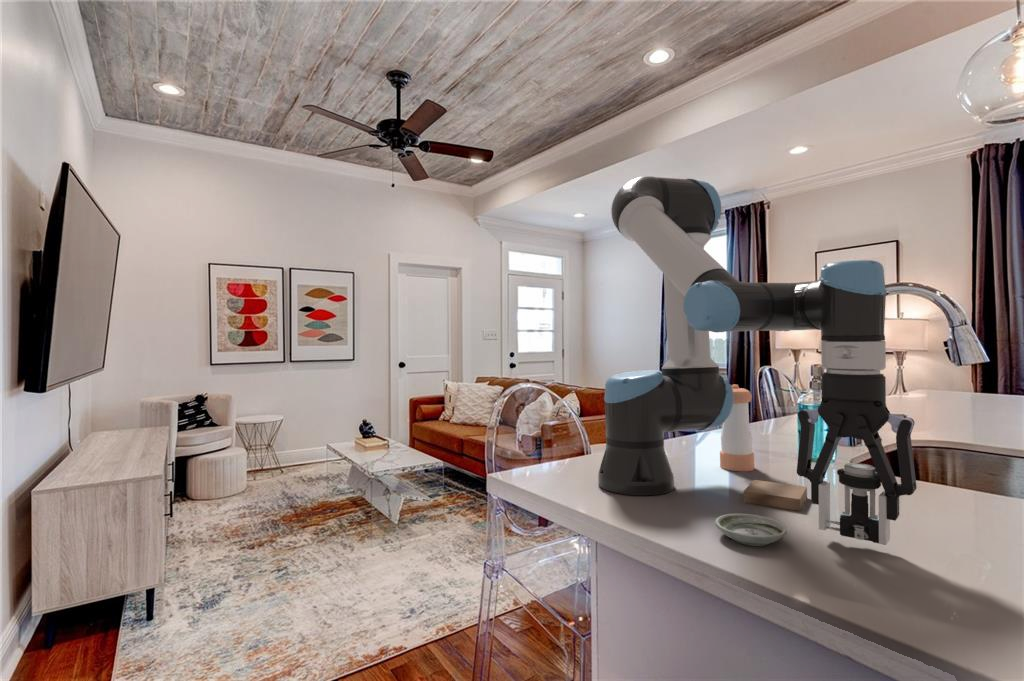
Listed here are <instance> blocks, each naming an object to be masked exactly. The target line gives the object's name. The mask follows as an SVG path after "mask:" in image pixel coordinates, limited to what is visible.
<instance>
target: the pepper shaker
mask: <svg viewBox="0 0 1024 681" xmlns="http://www.w3.org/2000/svg"><path fill="white" fill-rule="evenodd" d="M731 386H732V389H733V396H734V400H733V407H732V411H731V413H730V415H729V417H728V418H727V419H726V420H725V422H724V423H723V424H722V425H721V426H722V427H721V434H720V445H721V450H720V451H719V467H720V468H721V469H724V470H726V471H733V472H751V471H754V470H755V453H754V452H753V436H752V431H751V425H750V415H749V412H750V409H749V403H750V402H751V401H752V398H753V395H752V393H751V391H750V390H748V389H747V388H744V387H743V388H742V387H741V388H740V387H739V384H731Z"/></svg>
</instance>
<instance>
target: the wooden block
mask: <svg viewBox="0 0 1024 681" xmlns="http://www.w3.org/2000/svg"><path fill="white" fill-rule="evenodd" d="M807 499H808V486H804V485H796V484H789V483H781V482H773V481H767V480H765V481H764V480H758V479H753V480H752V482H750V483H749V485H748V486H747V487H746V488H745V489H744V490H743V503H747V504H753V505H754V504H755V505H759V506H766V507H772V508H778V509H784V510H791V511H792V510H793V511H797V512H798V511H799V512H801V511H802V508H803V507H804V504H805V503H806V501H807Z"/></svg>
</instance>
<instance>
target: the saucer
mask: <svg viewBox="0 0 1024 681" xmlns="http://www.w3.org/2000/svg"><path fill="white" fill-rule="evenodd" d="M714 524H715V526H716V527H717V529H719V530H720V531H721V532H722V533H723V534H724V535H725V536H726V537H729V538H731V539H732V540H733V541H735V542H737V543H740V544H743V545H747V546H751V547H752V546H753V547H754V546H755V547H759V546H761V547H762V546H767V545H769V544H771V543H775V542H777V541H779V540H780V539H781V538H782V539H783V537H785V536H786V535H787V533H788V528H787V526H785V524H783V523H782V522H780V521H778V520H776V519H775V518H771V517H768V516H764V515H757V514H752V513H751V514H750V513H727V514H723V515H720V516H719V517H717V518H716V519H715V521H714Z"/></svg>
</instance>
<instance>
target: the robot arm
mask: <svg viewBox="0 0 1024 681" xmlns="http://www.w3.org/2000/svg"><path fill="white" fill-rule="evenodd" d="M610 210H611V212H610V213H611V218H612V222H613V224H614V227H615V228H616V230H617V231H618V232H619V233H620V234H621V236H622V237H624V238H625V239H626V240H628V241H631V242H635V243H636V244H637V246H638V247H639V248H640V249H641V250H642V251H643V252H644V253H645V255H646V256H648V258H649V259H650V260H651V261H652V262H653V264H654V265H656V266H657V268H658V269H659V270H660V271H661V272H662V273H663V287H664V303H665V304H664V305H665V306H664V307H665V322H666V335H667V336H666V339H667V358H668V359H667V361H666V362H665V363H664V364H663V366H662V367H661V370H660V369H659V370H658V369H644V370H643V369H642V370H633V371H627V372H621V373H617V374H613V375H611V376H610V377H608V378H607V380H606V381H605V384H604V385H605V387H604V397H603V401H604V411H605V412H604V413H605V414H604V415H605V450H604V453H603V456H602V460H601V464H600V467H599V470H598V476H597V477H598V478H597V479H598V486H599V487H601V489H603V490H605V491H608V492H612V493H616V494H622V495H629V496H654V495H655V496H656V495H662V494H666V493H668V492H671V491H673V490H674V489H675V479H674V478H675V477H674V472H673V471H672V468H671V467H672V466H671V465H670V462H669V461H670V460H669V459H668V455H667V453H666V451H665V450H666V449H665V433H670V432H671V433H672V432H683V431H694V430H696V431H704V430H707V429H714V428H717V427H719V426H722V425H723V423H724V422H725V420H726V419H727V418H728V417H729V415H730V413H731V411H732V407H733V400H734V396H733V389H732V384H731V383H730V382H729V381H730V380H729V379H728V378H727V377H726V376H724V375H723V374H721V373H720V366H719V364H718V363H716V362H715V360H713V359H712V357H711V343H710V332H712V333H726V332H727V333H728V332H752V331H753V332H754V331H755V332H756V331H758V332H759V331H761V332H762V331H765V332H768V331H769V332H770V331H774V332H775V331H776V332H789V331H812V330H817V331H820V340H821V341H820V342H821V343H820V348H821V352H820V353H821V354H820V355H821V356H820V358H821V360H820V361H821V368H822V369H824V370H825V372H823V373H822V374H821V378H820V379H821V382H820V385H821V402H820V404H819V405H818V407H817V408H813V409H809V408H804V409H801V410H799V411H798V413H797V417H798V421H799V424H800V435H799V442H798V443H799V444H798V452H797V453H798V454H797V463H796V474H797V475H798V476H799V477H804V478H805V479H807V480H809V482H810V492H811V494H810V496H811V498H810V500H811V502H812V504H813V505H817V506H818V530H821V531H827V530H828V529H827V528H826V527H827V526H828V527H831V523H828V522H826V521H827V520H829V521H831V482H830V481H827V480H824V479H825V478H826V474H827V472H828V469H829V466H830V464H831V462H832V459H833V457H834V454H835V452H836V451H837V450H836V449H837V448H838V444H839V443H840V440H842V438H852V439H856V440H862V441H863V442H864V443H863V444H864V446H865V447H866V448H867V450H868V452H869V455H870V458H871V460H872V463H873V465H874V466H873V467H875V472H876V473H878V476H879V478H880V481H881V486H882V488H883V490H884V491H882V492H881V493H880V494H878V520H879V543H878V544H879V545H882V546H883V545H884V546H887V544H888V543H889V542H890V540H891V521H894V522H895V521H896V520H897V519H898V518H899V516H900V497H901V496H911V495H913V494H914V492H916V490H917V488H918V486H917V480H916V479H917V478H916V471H915V462H914V454H913V452H914V451H913V447H912V445H913V444H912V438H911V435H912V432H913V429H914V426H915V423H916V422H915V420H914V419H913V418H912V417H905V418H904V417H901V416H897V415H894V414H891V412H890V410H889V409H888V407H887V403H886V401H887V400H886V399H887V398H886V397H887V395H886V393H887V392H886V390H887V388H886V386H887V385H886V383H887V382H886V376H885V375H884V373H881V371H883V370H885V369H886V368H887V364H886V361H887V360H886V357H887V356H886V350H887V349H886V335H885V321H886V320H885V317H886V297H887V294H888V293H887V289H886V282H885V269H884V266H883V264H882V263H880V262H879V261H876V260H873V259H870V260H869V259H865V260H863V259H861V260H860V259H859V260H845V261H836V262H830V263H828V264H825V265H823V266H822V267H821V269H820V276H819V279H818V280H817V279H816V280H812V281H802V282H759V281H758V282H754V281H753V282H750V281H749V282H747V281H746V282H745V281H744V282H743V281H739V280H738V279H737V278H735V276H733V275H732V274H731V273H730V272H729V271H728V270H727V269H725V268H724V267H723V265H721V264H720V263H719V262H718V261H717V260H716V259H715V258H714V257H712V255H710V254H709V253H708V252H707V251H706V250H705V249H704V248H705V246H706V245H707V243H708V242H710V241H711V238H712V237H711V234H712V233H713V232H714V231H716V228H718V225H719V220H721V218H722V217H721V216H722V202H721V198H720V194H719V192H718V190H716V188H715V187H714V186H713V185H712V184H710V183H709V182H707V181H704V180H703V181H702V180H697V179H695V178H673V177H659V176H646V175H645V176H639V177H636V178H634V179H631V180H629V181H628V182H626V183H625V184H623V186H621V188H619V189H618V191H617V192H616V193H615V196H614V198H613V199H612V203H611V209H610ZM819 417H820V418H821V419H822V420H823V422H824V423H825V424H826V426H827V428H828V431H827V433H826V435H825V440H824V442H823V445H822V446H821V449H820V452H819V454H818V457H817V460H816V462H815V465H814V467H813V468H812V462H813V461H812V459H813V450H814V443H815V442H814V441H815V440H814V439H815V430H816V423H818V421H819ZM887 423H888V424H890V426H891V427H890V428H891V430H892V432H893V433H895V434H896V435H895V442H896V451H897V452H896V453H897V461H898V467H899V468H898V470H899V475H900V476H899V478H900V483H898V481H897V479H896V476H895V473H894V471H893V468H892V466H891V463H890V461H889V459H888V456H887V454H886V451H885V449H884V446H883V444H882V439H881V436H880V434H879V430H881V429H882V428H883V427H884V426H885V425H886V424H887Z"/></svg>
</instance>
